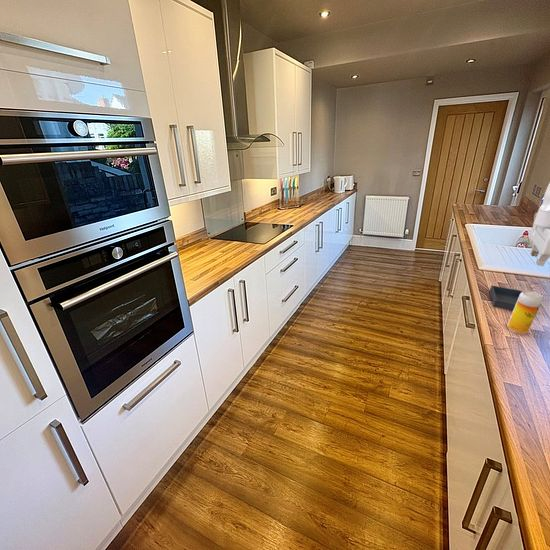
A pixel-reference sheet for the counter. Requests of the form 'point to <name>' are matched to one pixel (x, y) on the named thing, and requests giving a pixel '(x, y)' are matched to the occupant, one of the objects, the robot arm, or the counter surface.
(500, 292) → the tray
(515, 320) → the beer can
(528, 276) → the counter surface
